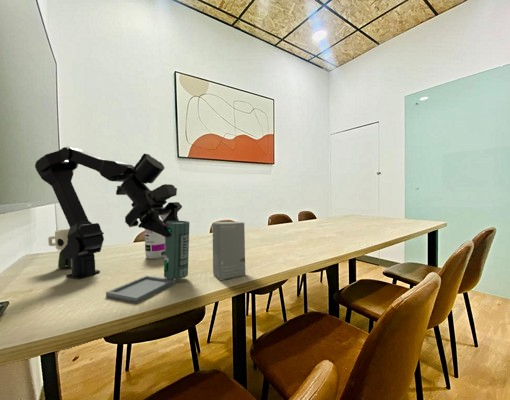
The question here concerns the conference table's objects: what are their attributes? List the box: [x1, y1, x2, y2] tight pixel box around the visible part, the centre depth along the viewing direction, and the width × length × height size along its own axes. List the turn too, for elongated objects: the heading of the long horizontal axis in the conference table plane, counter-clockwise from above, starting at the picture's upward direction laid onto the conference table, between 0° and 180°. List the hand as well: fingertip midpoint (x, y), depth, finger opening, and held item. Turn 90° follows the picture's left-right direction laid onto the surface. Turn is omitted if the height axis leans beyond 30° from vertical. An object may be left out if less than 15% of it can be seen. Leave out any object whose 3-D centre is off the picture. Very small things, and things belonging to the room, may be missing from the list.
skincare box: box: [211, 221, 246, 281], centre depth 69 cm, size 8×7×16 cm
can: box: [163, 220, 190, 280], centre depth 65 cm, size 6×6×15 cm
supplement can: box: [144, 217, 165, 260], centre depth 92 cm, size 8×8×15 cm
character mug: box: [48, 228, 71, 269], centre depth 81 cm, size 11×7×13 cm, turn 116°
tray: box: [105, 275, 175, 304], centre depth 59 cm, size 10×12×1 cm
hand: (176, 234), depth 65 cm, fingers closed on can, 6 cm apart
